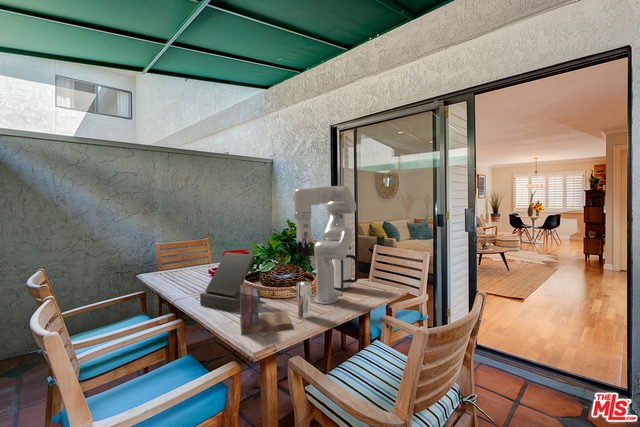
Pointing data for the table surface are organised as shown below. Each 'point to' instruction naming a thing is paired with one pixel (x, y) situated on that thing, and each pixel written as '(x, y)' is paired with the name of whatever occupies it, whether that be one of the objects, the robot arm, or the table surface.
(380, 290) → the table surface
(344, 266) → the coffee press
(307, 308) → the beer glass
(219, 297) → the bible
